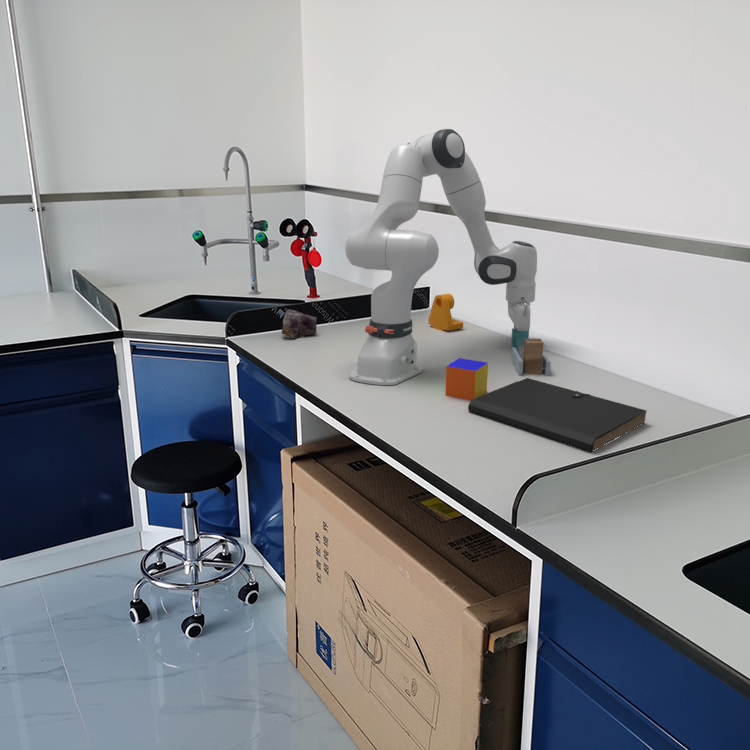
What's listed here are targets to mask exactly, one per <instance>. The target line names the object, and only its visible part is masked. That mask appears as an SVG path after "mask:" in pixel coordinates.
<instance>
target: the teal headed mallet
mask: <svg viewBox="0 0 750 750" xmlns="http://www.w3.org/2000/svg"><path fill="white" fill-rule="evenodd" d="M529 334H530V330H529V331H518V330H517V328H514V327H512V328H511V339H510V340H511V341H510V348H511V349H512V347H515V348H516V349H517V351H518V353H519V355H520V357H521V358H522V360H523V353H524V338H527V339H530V337H529V336H530V335H529Z"/></svg>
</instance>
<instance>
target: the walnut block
mask: <svg viewBox="0 0 750 750" xmlns="http://www.w3.org/2000/svg"><path fill="white" fill-rule="evenodd" d="M543 341H544V340H542V339H541V338H529V339H527V338H524V353H523V359H522V360H523V371H522V372H523V374H525V375H542V371H543V370H542V358H543V351H544V342H543Z"/></svg>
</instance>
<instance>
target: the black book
mask: <svg viewBox="0 0 750 750" xmlns="http://www.w3.org/2000/svg"><path fill="white" fill-rule="evenodd" d="M467 410H468V412H470V413H473V414H476V415H477V416H481V417H484V418H487V419H491V420H493V421H496V422H500V423H501V424H506V425H509V426H510V427H511V426H512V427H514V428H516V429H520V430H522V431H526V432H529V433H531V434H534V435H538V436H540V437H544V438H546V439H550V440H553V441H556V442H559V443H562V442H563V443H562V444H565V443H566V444H565V445H568V444H569V445H568V446H570V445H572V447H573V446H575V447H574V448H576V447H578V448H577V449H579V448H581V449H580V450H582V449H584V450H583V451H585V450H587V451H586V452H588V451H591V452H592V453H593V451H592V450H595V449H597V448H599V447H601V446H603V445H604V444H606V443H608V442H610V441H612V440H614V439H615V438H617V437H619V436H621V435H623V434H625V433H626V432H628V431H630V430H632V429H634V428H636V427H637V426H639V427H641V426H642V425H641V424H643V423H645V421H646V419H647V418H646V417H647V415H646V414H647V412H648V410H646V409H643V408H639V407H636V406H631V405H628V404H625V403H621V402H616V401H615V400H614V401H613V400H609V399H605V398H603V397H602V398H601V397H598V396H595V395H591V394H589V393H583V392H581V391H578V390H573V389H568V388H566V387H561V386H559V385H554V384H551V383H547V382H544V381H541V380H536V379H532V378H529V377H527V378H523V379H521V380H519V381H514V382H512V383H509V384H507V385H505V386H502V387H500V388H496V389H495V390H492V391H490V392H486V393H484V394H483V395H482V396H479V397H477V398H474V399H473V400H470V402H469V403H468V405H467ZM640 425H641V426H640ZM643 425H644V424H643ZM636 429H637V428H636ZM634 430H635V429H634ZM632 431H633V430H632ZM630 432H631V431H630ZM625 435H626V434H625ZM623 436H624V435H623ZM621 437H622V436H621ZM614 441H615V440H614ZM612 442H613V441H612ZM610 443H611V442H610ZM603 447H604V446H603ZM601 448H602V447H601ZM591 449H592V450H591ZM599 449H600V448H599ZM597 450H598V449H597ZM595 451H596V450H595ZM591 452H590V453H591Z"/></svg>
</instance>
